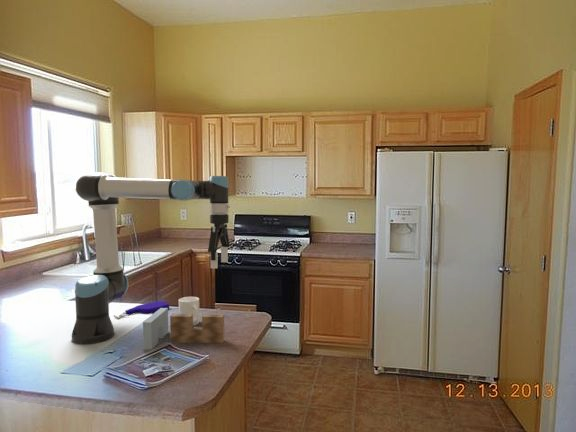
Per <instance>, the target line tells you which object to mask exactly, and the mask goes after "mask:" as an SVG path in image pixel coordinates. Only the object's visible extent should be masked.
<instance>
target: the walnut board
mask: <svg viewBox="0 0 576 432" xmlns="http://www.w3.org/2000/svg"><path fill="white" fill-rule="evenodd" d="M169 317H170V318H169V319H170V321H169V322H170V342H171V343H192V344H193V343H194V344H195V343H197V344H198V343H200V344H202V343H203V344H205V343H206V344H223V343H224V342H225V314H208V313H207V314H203V315H202V317H201V326H193V314H179V313H172V314H171V315H170V316H169Z"/></svg>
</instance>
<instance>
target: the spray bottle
mask: <svg viewBox="0 0 576 432" xmlns="http://www.w3.org/2000/svg"><path fill="white" fill-rule="evenodd" d="M160 308H168V311H169V310H170V305H169V303H168V302H166V301H164V300H157V301H153V302H148V303H143V304H140V305H136V306H134V307H132V308H128V309H126V310H122V311H114V313H113V316H114V317H115V318H116V319H120V318H122V317H126V316H127V317H129V316H130V315H134V314H133V313H135V314H144V315H146V314H148V315H149V313H151V314H154V313H155V312H156V311H158V310H159V309H160Z"/></svg>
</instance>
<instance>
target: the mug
mask: <svg viewBox="0 0 576 432" xmlns="http://www.w3.org/2000/svg"><path fill="white" fill-rule="evenodd" d="M178 314H193V327H196V326H197V325H199V323H200V298H199V297H197V296H184V297H181V298H179V299H178Z"/></svg>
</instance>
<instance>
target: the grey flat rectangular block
mask: <svg viewBox="0 0 576 432" xmlns="http://www.w3.org/2000/svg"><path fill="white" fill-rule="evenodd" d="M142 332H143V333H142V337H143V339H142V340H143V341H142V342H143V343H142V345H143V350H153V349H154V348H155V347H156V346H157V345H158V344H159V339H164V337H165V336H167V334H168V333H169V310H168V308H160V309H159V310H158V311H156V312H155V313H152V315H151V314H150V316H149V317H147V318H146V319H145V320H144V321H143V322H142Z"/></svg>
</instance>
